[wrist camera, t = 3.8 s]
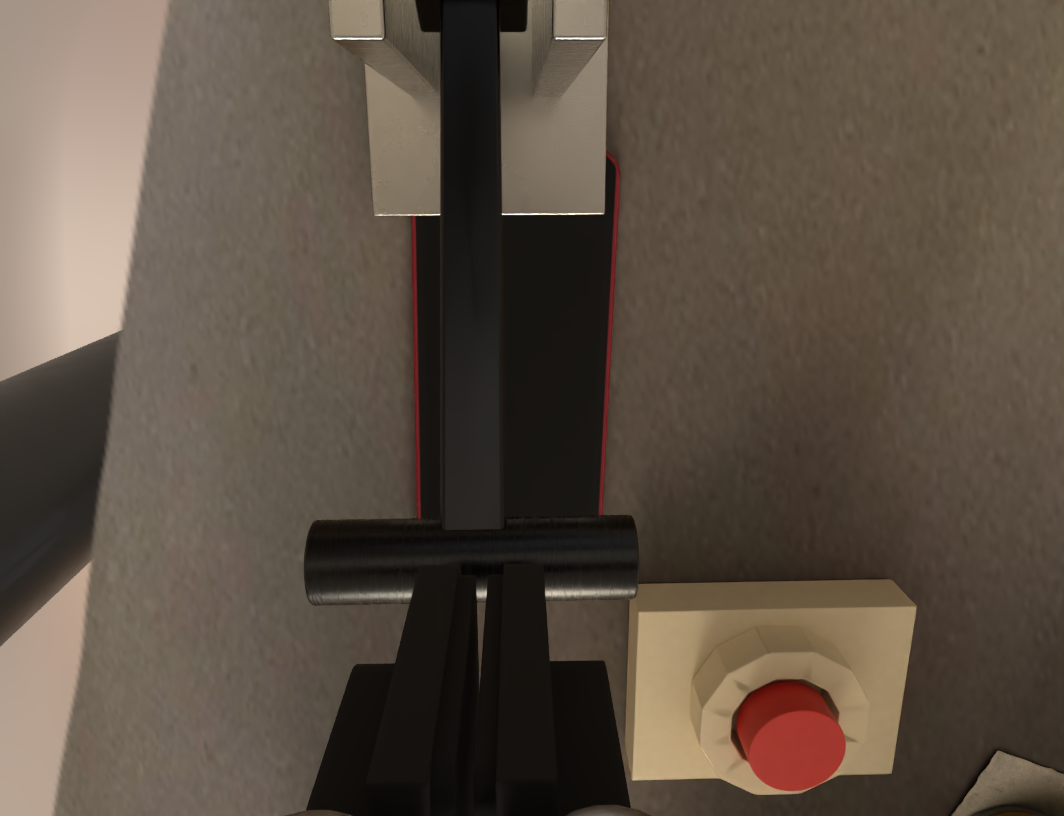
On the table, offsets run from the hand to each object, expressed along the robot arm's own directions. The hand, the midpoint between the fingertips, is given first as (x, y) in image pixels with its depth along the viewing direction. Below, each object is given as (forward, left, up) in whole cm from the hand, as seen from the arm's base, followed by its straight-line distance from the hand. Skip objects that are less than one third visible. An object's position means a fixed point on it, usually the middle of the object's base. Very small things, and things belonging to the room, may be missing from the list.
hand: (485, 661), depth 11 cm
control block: (+11, -14, -20) cm, 27 cm away
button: (+11, -14, -16) cm, 24 cm away
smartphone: (0, 0, -21) cm, 21 cm away
